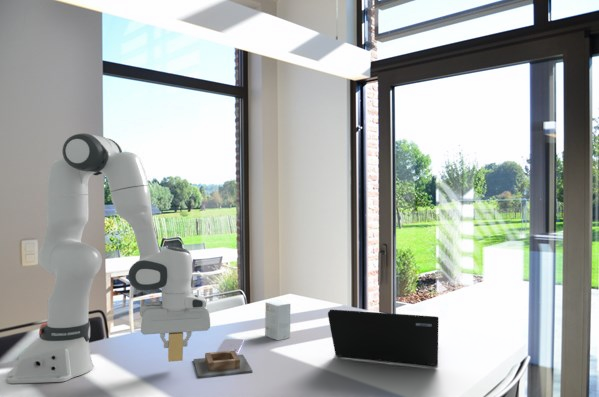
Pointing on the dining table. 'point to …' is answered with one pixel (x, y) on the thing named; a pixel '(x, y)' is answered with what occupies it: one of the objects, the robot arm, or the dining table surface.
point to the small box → (277, 320)
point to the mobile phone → (231, 345)
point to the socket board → (221, 364)
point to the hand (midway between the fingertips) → (175, 346)
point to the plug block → (175, 347)
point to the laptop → (385, 336)
